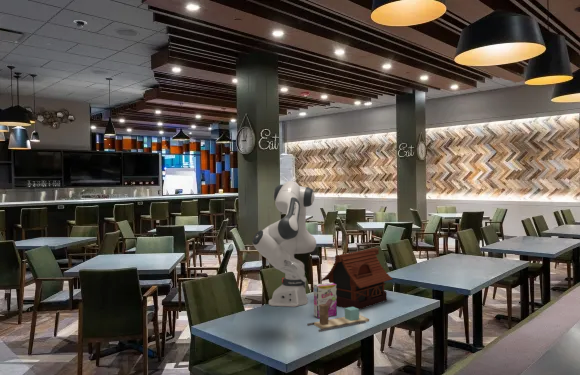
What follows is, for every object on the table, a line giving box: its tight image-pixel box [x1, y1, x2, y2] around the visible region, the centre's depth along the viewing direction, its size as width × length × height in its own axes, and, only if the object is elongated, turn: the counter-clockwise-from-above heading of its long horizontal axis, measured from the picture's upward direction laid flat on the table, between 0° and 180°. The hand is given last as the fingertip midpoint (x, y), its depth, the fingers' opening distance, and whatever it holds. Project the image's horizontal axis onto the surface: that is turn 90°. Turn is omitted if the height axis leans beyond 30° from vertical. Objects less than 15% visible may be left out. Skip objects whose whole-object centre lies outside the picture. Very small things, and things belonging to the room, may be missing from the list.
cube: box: [344, 307, 360, 321], centre depth 222 cm, size 5×5×5 cm
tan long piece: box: [314, 304, 370, 329], centre depth 219 cm, size 26×9×10 cm, turn 117°
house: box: [320, 247, 393, 310], centre depth 258 cm, size 35×28×29 cm
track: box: [306, 318, 367, 333], centre depth 218 cm, size 26×11×1 cm, turn 117°
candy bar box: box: [313, 282, 338, 319], centre depth 232 cm, size 11×5×16 cm, turn 111°
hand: (300, 278), depth 209 cm, fingers open, 8 cm apart
